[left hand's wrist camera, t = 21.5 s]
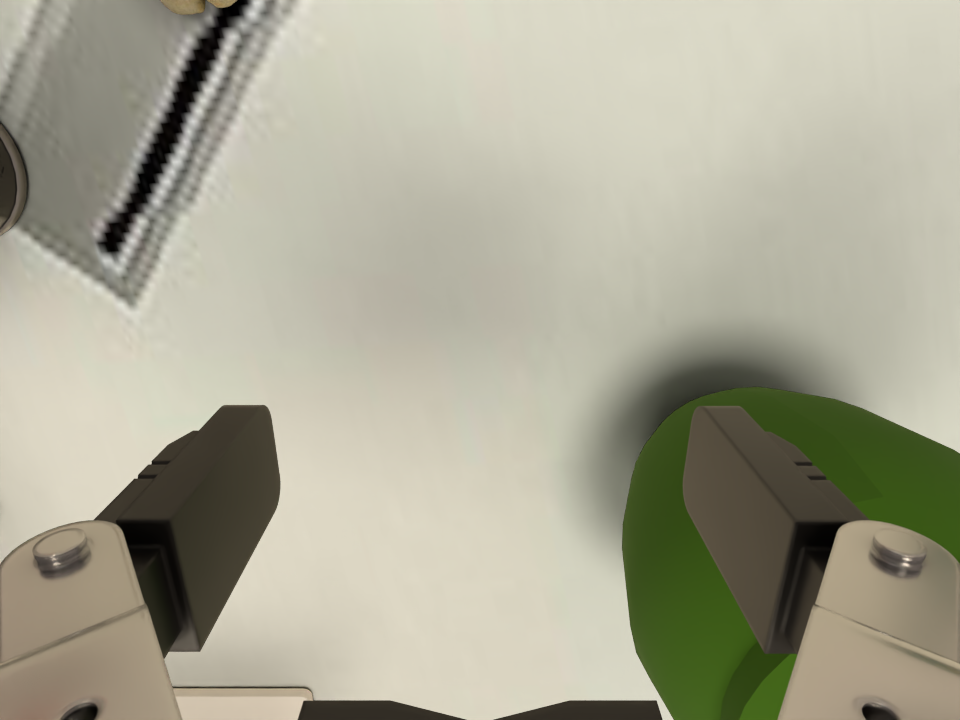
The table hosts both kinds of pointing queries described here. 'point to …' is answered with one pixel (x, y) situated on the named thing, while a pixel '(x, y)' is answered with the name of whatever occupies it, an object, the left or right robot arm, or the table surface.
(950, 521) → the vase
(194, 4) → the sculpture
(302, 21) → the table surface
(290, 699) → the tablet stand
